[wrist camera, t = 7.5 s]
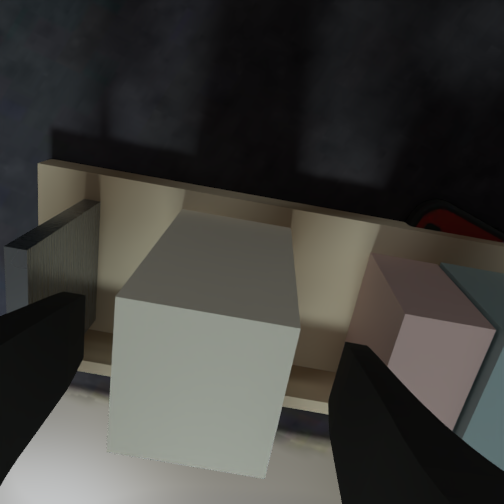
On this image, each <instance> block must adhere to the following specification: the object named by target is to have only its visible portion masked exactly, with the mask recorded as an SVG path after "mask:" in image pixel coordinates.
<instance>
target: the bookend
mask: <svg viewBox="0 0 504 504" xmlns="http://www.w3.org/2000/svg"><path fill="white" fill-rule="evenodd" d="M100 206H101V202H100V201H94V200H89V199H83V200H81V201H80V202H78V203H76V204H75V205H73V206H71V207H70V208H68V209H66V210H65V211H63V212H61V213H59V214H58V215H56V216H54V217H53V218H51V219H49V220H48V221H46V222H44V223H43V224H41V225H39V226H37V227H36V228H34V229H32V230H31V231H29V232H27V233H26V234H24V235H22V236H21V237H19V238H17V239H15V240H14V241H12V242H10V243H9V244H7V245H5V246H4V261H5V284H6V307H7V313H9V312H12V311H14V310H17V309H19V308H22V307H24V306H27V305H29V304H31V303H34V302H36V301H39V300H41V299H44V298H46V297H49V296H51V295H54V294H57V293H60V292H70V293H75V294H81V295H86V301H85V332H84V334H85V333H86V332H87V330H88V329H89V328H90V326H91V325H92V324H93V323H94V321H95V320H96V300H97V276H98V253H99V229H100Z"/></svg>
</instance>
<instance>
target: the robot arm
mask: <svg viewBox="0 0 504 504" xmlns="http://www.w3.org/2000/svg"><path fill="white" fill-rule="evenodd" d="M85 301H86V295H81V294H75V293H70V292H60V293H57V294H54V295H51V296H49V297H46V298H44V299H41V300H39V301H36V302H34V303H31V304H29V305H27V306H24V307H22V308H19V309H17V310H14V311H12V312H9V313H7V314H5V315H2V316H0V486H1V484H2V482H3V480H4V478H5V477H6V475H7V474H8V472H9V471H10V469H11V467H12V466H13V465H14V463H15V462H16V460H17V458H18V457H19V456H20V454H21V453H22V452H23V450H24V449H25V447H26V446H27V445H28V443H29V442H30V441H31V439H32V438H33V436H34V435H35V434H36V432H37V431H38V430H39V428H40V427H41V425H42V424H43V423H44V421H45V420H46V418H47V417H48V416H49V414H50V413H51V411H52V410H53V409H54V407H55V406H56V404H57V403H58V402H59V400H60V399H61V397H62V396H63V395H64V393H65V392H66V390H67V389H68V387H69V385H70V383H71V381H72V380H73V378H74V376H75V374H76V372H77V370H78V368H79V366H80V364H81V362H82V360H83V358H84V332H85ZM328 414H329V432H330V440H331V446H332V451H333V457H334V463H335V468H336V473H337V479H338V484H339V490H340V495H341V500H342V504H504V471H503V470H502V469H500V468H499V467H497V466H496V465H495V464H493V463H492V462H490V461H489V460H488V459H486V458H485V457H484V456H482V455H481V454H480V453H478V452H477V451H476V450H475V449H473V448H472V447H471V446H470V445H469V444H467V443H466V442H465V441H464V440H462V439H461V438H460V437H459V436H458V435H456V434H455V433H454V432H453V431H452V430H450V429H449V428H448V427H447V426H446V425H445V424H444V423H442V422H441V421H440V420H439V419H438V418H437V417H436V416H435V415H434V414H433V413H432V412H431V411H430V410H429V409H428V408H427V407H425V406H424V405H423V404H422V403H421V402H420V401H419V400H418V399H417V398H416V397H415V396H414V395H413V394H412V393H411V391H410V390H409V389H408V388H407V387H406V386H405V385H404V384H403V383H402V382H401V381H400V380H399V379H398V378H397V377H396V376H395V374H394V373H393V372H392V371H391V370H390V369H389V368H388V367H387V366H386V365H385V363H384V362H383V361H382V360H381V359H380V358H379V357H378V356H377V355H376V354H375V353H374V352H373V351H372V349H370V348H369V347H368V346H367V345H362V344H356V343H350V342H345V345H344V348H343V351H342V355H341V358H340V362H339V365H338V369H337V372H336V375H335V379H334V382H333V386H332V389H331V393H330V396H329V399H328Z"/></svg>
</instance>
